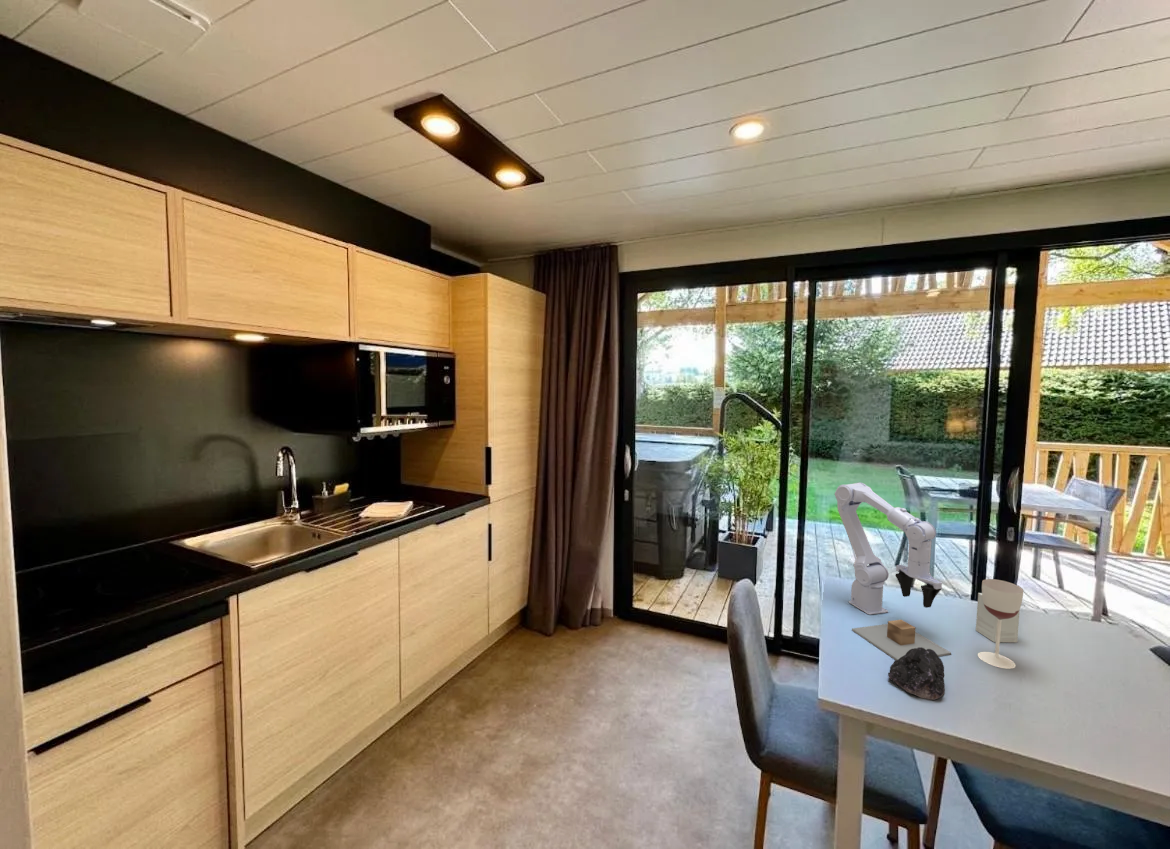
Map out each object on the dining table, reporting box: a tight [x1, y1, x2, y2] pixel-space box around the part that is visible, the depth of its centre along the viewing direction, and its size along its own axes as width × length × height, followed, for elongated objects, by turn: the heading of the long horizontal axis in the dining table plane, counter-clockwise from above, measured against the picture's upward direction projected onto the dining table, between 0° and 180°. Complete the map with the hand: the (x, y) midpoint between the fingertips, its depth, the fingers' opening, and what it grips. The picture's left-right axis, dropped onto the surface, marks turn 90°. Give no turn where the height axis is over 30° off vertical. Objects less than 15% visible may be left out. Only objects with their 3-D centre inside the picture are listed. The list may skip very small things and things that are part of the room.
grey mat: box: [851, 623, 952, 661], centre depth 147 cm, size 18×18×1 cm
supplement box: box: [975, 592, 1021, 643], centre depth 149 cm, size 7×7×13 cm
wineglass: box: [977, 578, 1024, 670], centre depth 136 cm, size 9×10×22 cm
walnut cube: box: [887, 619, 916, 645], centre depth 147 cm, size 5×5×5 cm
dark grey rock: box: [887, 647, 946, 701], centre depth 126 cm, size 13×14×10 cm
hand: (916, 601), depth 153 cm, fingers open, 7 cm apart
